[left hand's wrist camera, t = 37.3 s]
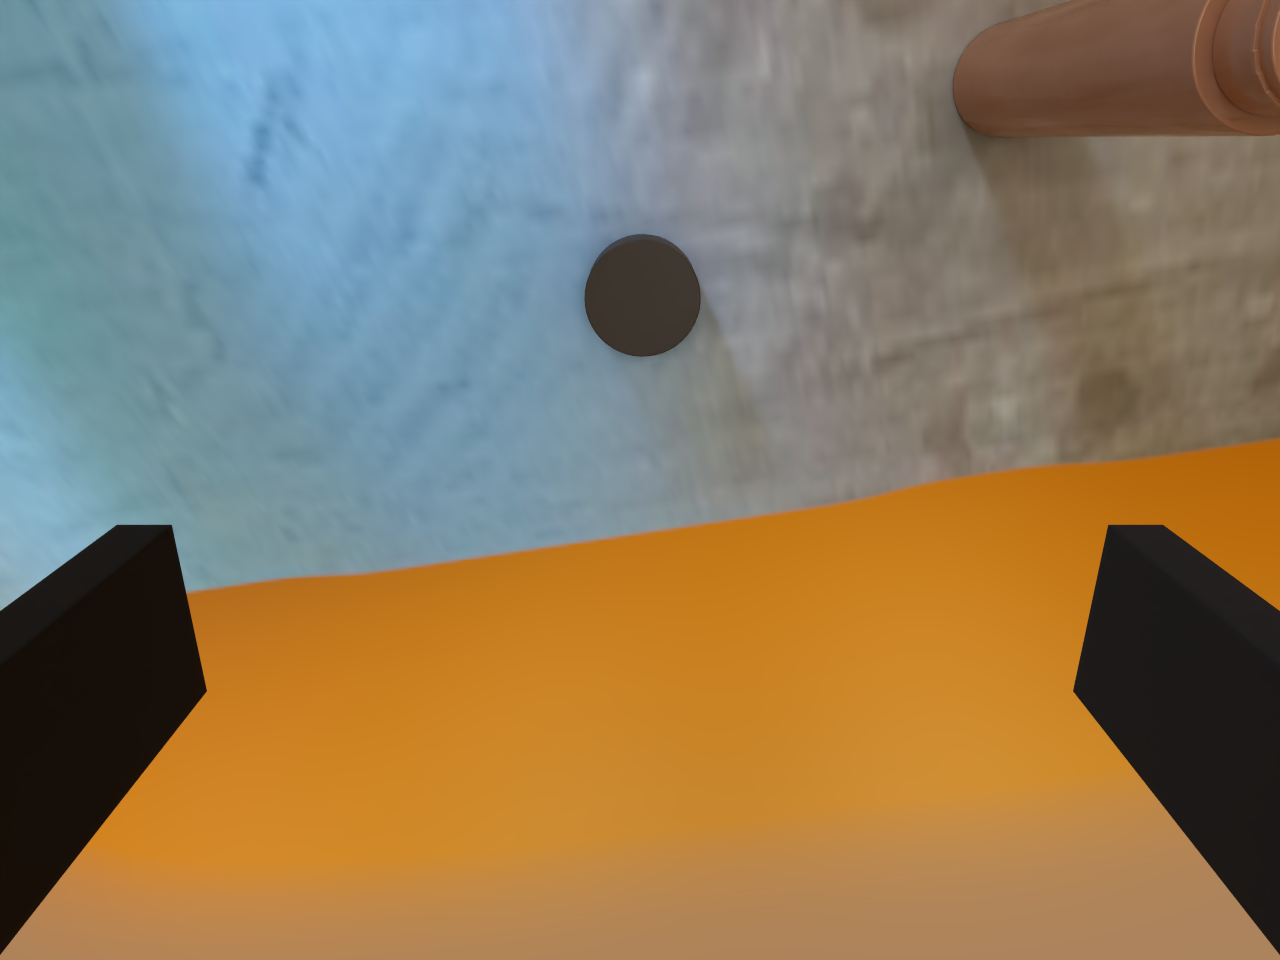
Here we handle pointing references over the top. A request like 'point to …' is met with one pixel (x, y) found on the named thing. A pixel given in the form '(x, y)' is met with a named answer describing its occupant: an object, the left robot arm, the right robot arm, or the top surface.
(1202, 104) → the brown cylinder
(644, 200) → the top surface
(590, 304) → the lid
